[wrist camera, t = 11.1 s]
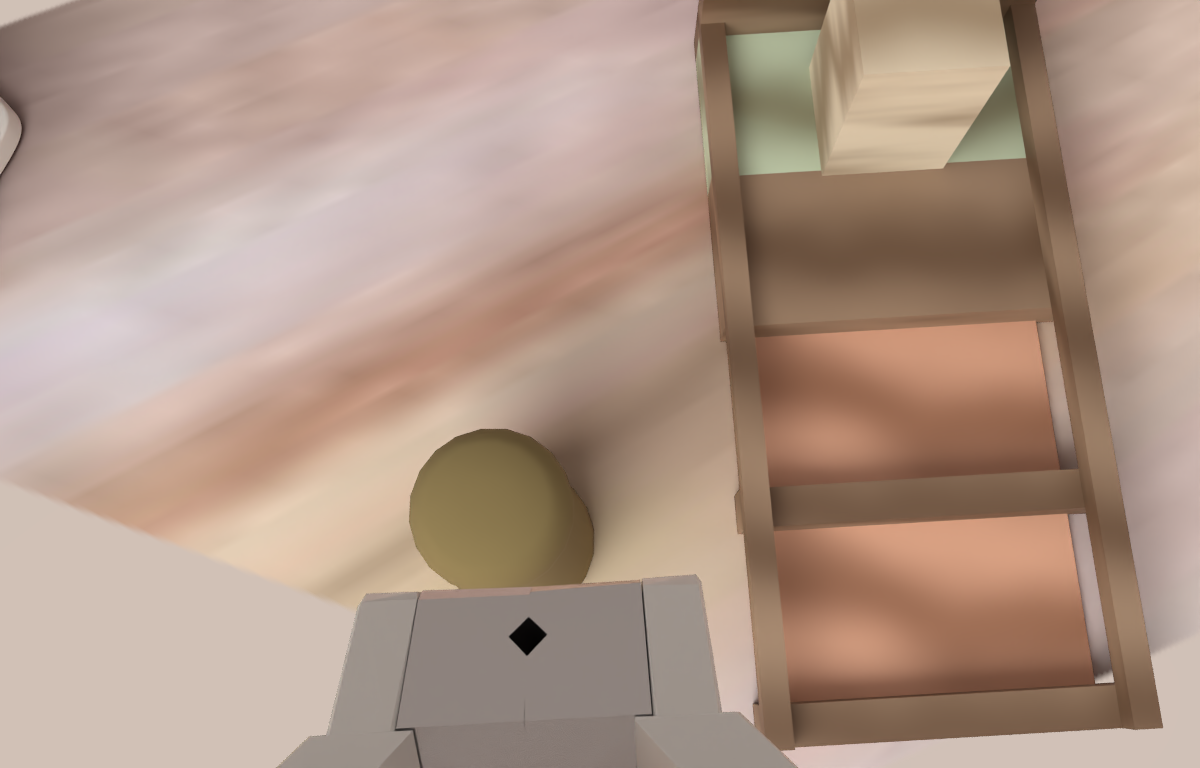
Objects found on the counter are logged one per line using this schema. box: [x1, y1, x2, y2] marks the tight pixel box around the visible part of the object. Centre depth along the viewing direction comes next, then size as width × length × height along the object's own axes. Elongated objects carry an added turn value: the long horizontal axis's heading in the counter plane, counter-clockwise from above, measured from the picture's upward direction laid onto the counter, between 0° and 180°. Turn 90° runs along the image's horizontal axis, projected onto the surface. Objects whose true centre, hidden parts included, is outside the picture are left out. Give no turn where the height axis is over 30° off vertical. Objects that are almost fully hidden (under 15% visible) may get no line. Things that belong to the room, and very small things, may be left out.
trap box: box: [694, 0, 1163, 751], centre depth 42 cm, size 30×14×6 cm, turn 3°
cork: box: [409, 429, 594, 589], centre depth 38 cm, size 6×6×11 cm
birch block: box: [809, 0, 1010, 176], centre depth 42 cm, size 5×5×8 cm
